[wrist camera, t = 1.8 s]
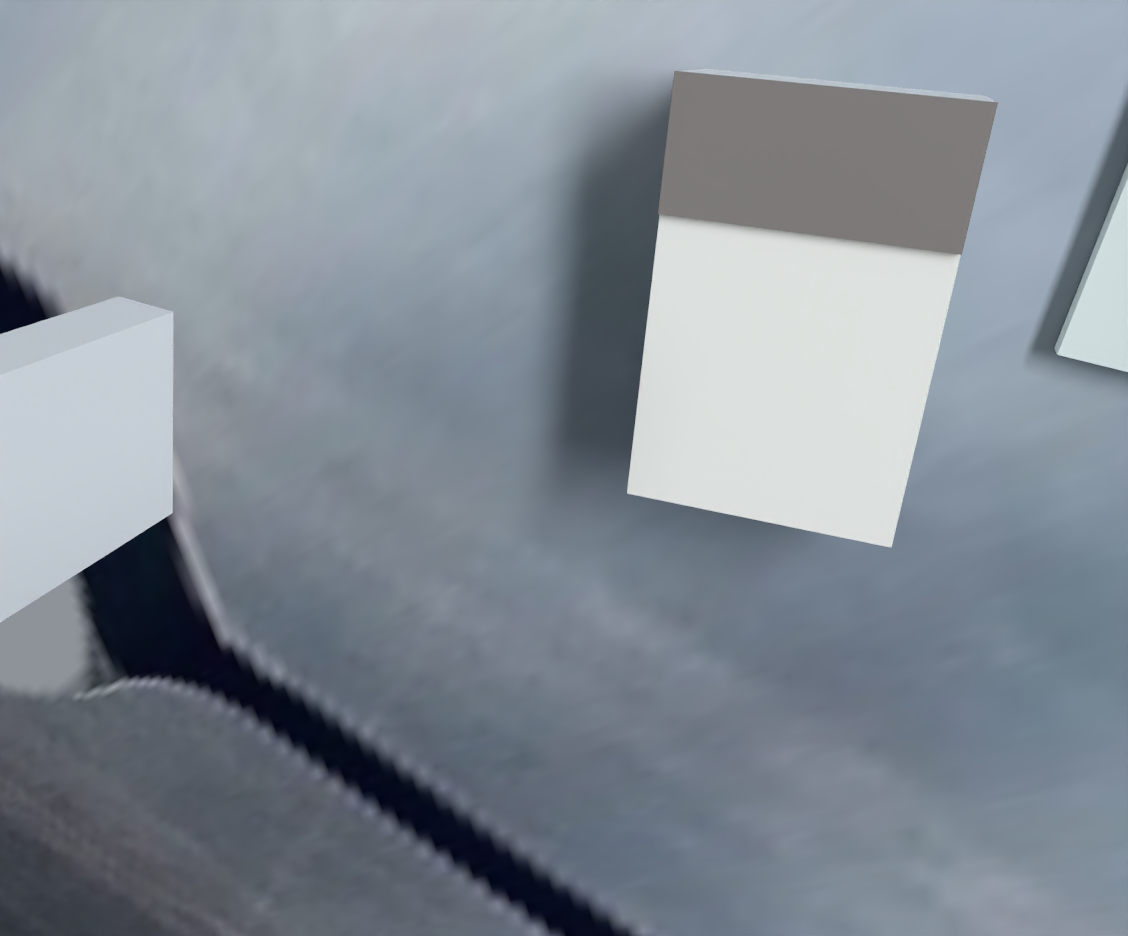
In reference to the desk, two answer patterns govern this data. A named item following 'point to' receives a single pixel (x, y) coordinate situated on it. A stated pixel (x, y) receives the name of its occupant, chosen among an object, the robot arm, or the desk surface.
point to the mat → (1102, 295)
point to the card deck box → (801, 294)
